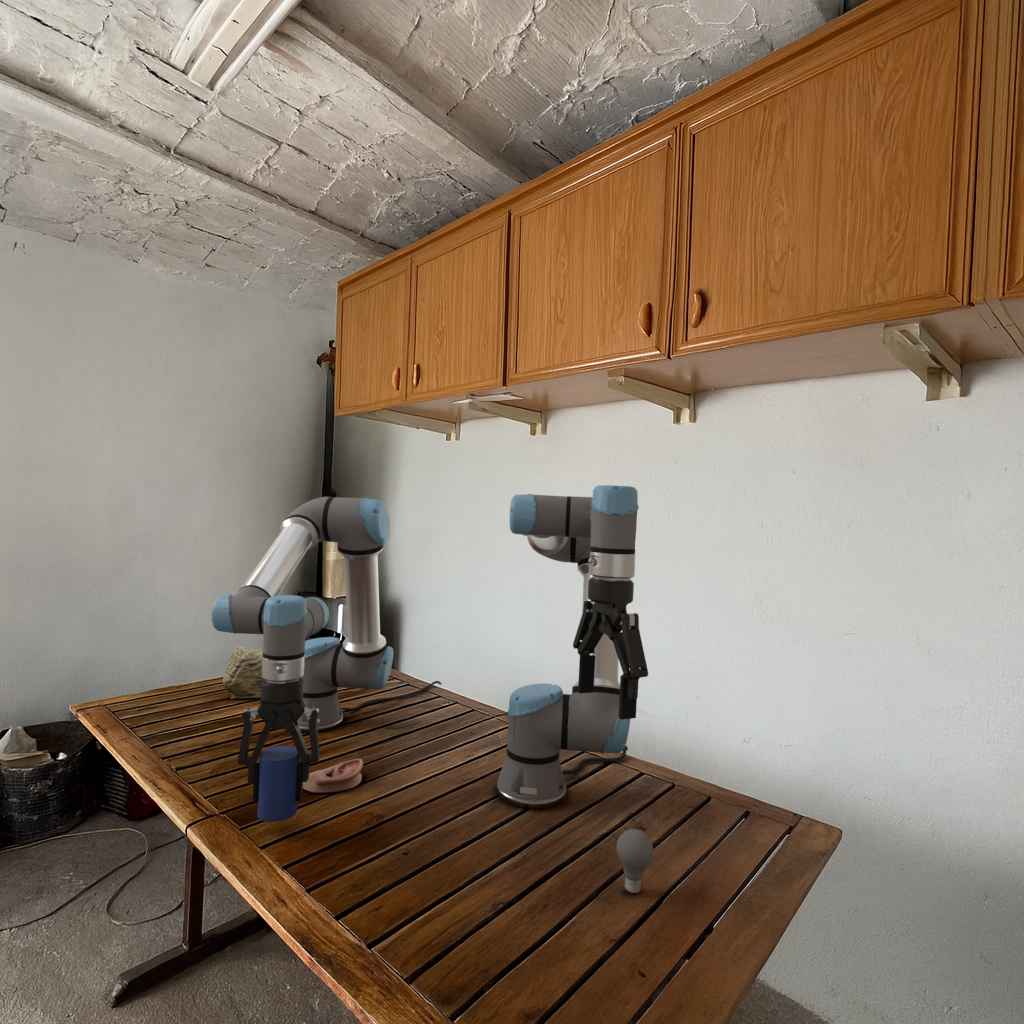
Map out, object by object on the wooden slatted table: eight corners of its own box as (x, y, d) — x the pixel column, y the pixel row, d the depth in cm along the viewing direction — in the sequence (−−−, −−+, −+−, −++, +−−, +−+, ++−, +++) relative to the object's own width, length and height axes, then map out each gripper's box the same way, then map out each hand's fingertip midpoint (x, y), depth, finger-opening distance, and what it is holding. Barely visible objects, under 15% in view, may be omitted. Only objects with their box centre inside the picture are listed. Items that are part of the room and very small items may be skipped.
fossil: (218, 695, 195) (220, 647, 195) (278, 685, 208) (279, 640, 207) (228, 703, 189) (230, 653, 188) (289, 692, 201) (290, 645, 201)
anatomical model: (289, 770, 136) (316, 750, 147) (288, 789, 136) (315, 767, 147) (346, 778, 133) (369, 757, 145) (345, 797, 133) (368, 774, 145)
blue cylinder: (273, 826, 115) (276, 763, 115) (249, 814, 119) (251, 754, 119) (304, 811, 121) (307, 751, 121) (280, 800, 125) (283, 743, 125)
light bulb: (610, 879, 108) (613, 822, 108) (644, 879, 109) (647, 822, 109) (619, 902, 102) (622, 840, 102) (655, 901, 103) (658, 840, 103)
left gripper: (221, 684, 114) (216, 811, 114) (335, 683, 118) (330, 806, 118) (231, 673, 122) (227, 792, 122) (339, 672, 125) (334, 788, 125)
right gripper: (558, 569, 116) (552, 684, 116) (632, 589, 93) (626, 733, 93) (594, 569, 118) (588, 681, 119) (675, 588, 95) (668, 728, 96)
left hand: (278, 798), depth 120 cm, fingers closed on blue cylinder, 7 cm apart
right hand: (605, 704), depth 106 cm, fingers open, 13 cm apart
